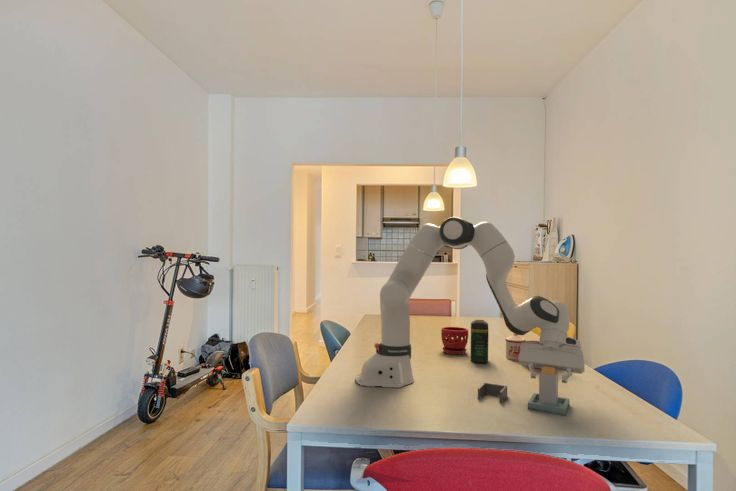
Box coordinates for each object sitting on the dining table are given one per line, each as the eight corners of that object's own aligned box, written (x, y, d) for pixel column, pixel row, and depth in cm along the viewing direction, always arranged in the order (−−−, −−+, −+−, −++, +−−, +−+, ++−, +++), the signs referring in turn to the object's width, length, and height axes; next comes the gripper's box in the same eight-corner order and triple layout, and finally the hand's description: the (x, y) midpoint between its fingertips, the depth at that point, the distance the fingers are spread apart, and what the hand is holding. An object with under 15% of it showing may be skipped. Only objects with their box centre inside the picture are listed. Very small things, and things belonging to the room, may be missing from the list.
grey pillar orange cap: (539, 406, 140) (539, 368, 141) (541, 401, 145) (541, 365, 145) (555, 409, 138) (555, 370, 138) (558, 404, 142) (558, 367, 142)
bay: (477, 398, 149) (477, 388, 149) (484, 392, 156) (484, 382, 156) (501, 403, 145) (501, 392, 145) (507, 396, 152) (507, 386, 152)
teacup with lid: (506, 360, 202) (506, 334, 202) (504, 355, 211) (504, 331, 211) (534, 361, 200) (534, 335, 200) (530, 356, 208) (530, 332, 209)
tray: (527, 409, 139) (527, 402, 139) (534, 399, 149) (534, 392, 149) (565, 416, 134) (565, 409, 134) (569, 405, 143) (569, 398, 143)
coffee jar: (488, 364, 194) (488, 322, 194) (470, 363, 196) (470, 321, 196) (488, 359, 204) (488, 319, 204) (470, 357, 206) (470, 318, 206)
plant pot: (470, 355, 210) (471, 330, 210) (443, 355, 210) (443, 330, 210) (465, 349, 223) (465, 326, 223) (439, 349, 223) (439, 325, 223)
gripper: (520, 335, 153) (513, 369, 144) (585, 341, 142) (582, 379, 134) (522, 345, 156) (516, 379, 148) (586, 352, 146) (583, 390, 138)
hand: (548, 379), depth 141 cm, fingers open, 8 cm apart
